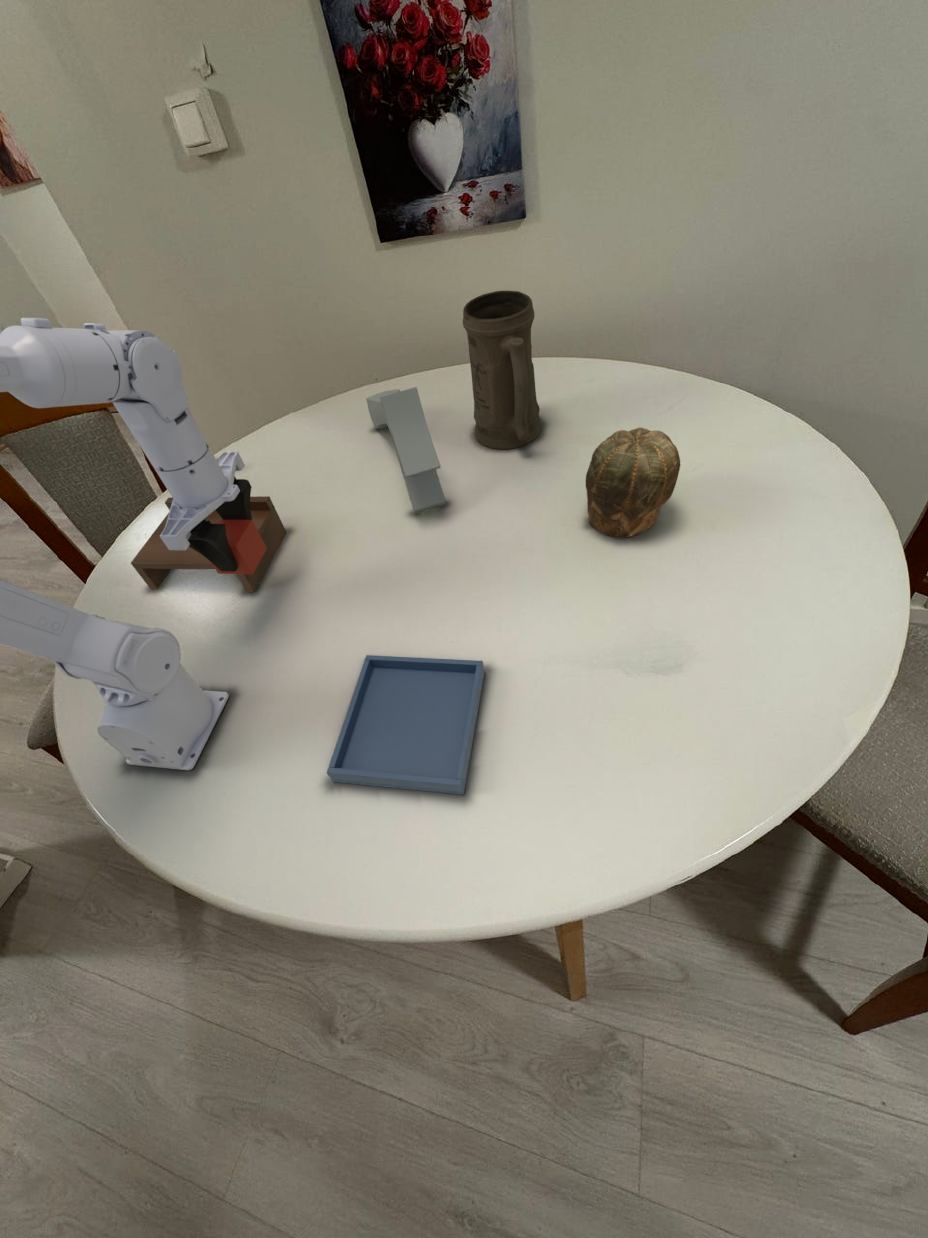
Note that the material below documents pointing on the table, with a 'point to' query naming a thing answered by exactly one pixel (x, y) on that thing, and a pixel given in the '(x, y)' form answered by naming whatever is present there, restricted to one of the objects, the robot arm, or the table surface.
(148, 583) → the shelf
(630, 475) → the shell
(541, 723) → the table surface
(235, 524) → the block
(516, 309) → the beer stein
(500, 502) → the table surface
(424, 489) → the faucet
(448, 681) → the tray
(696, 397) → the table surface
